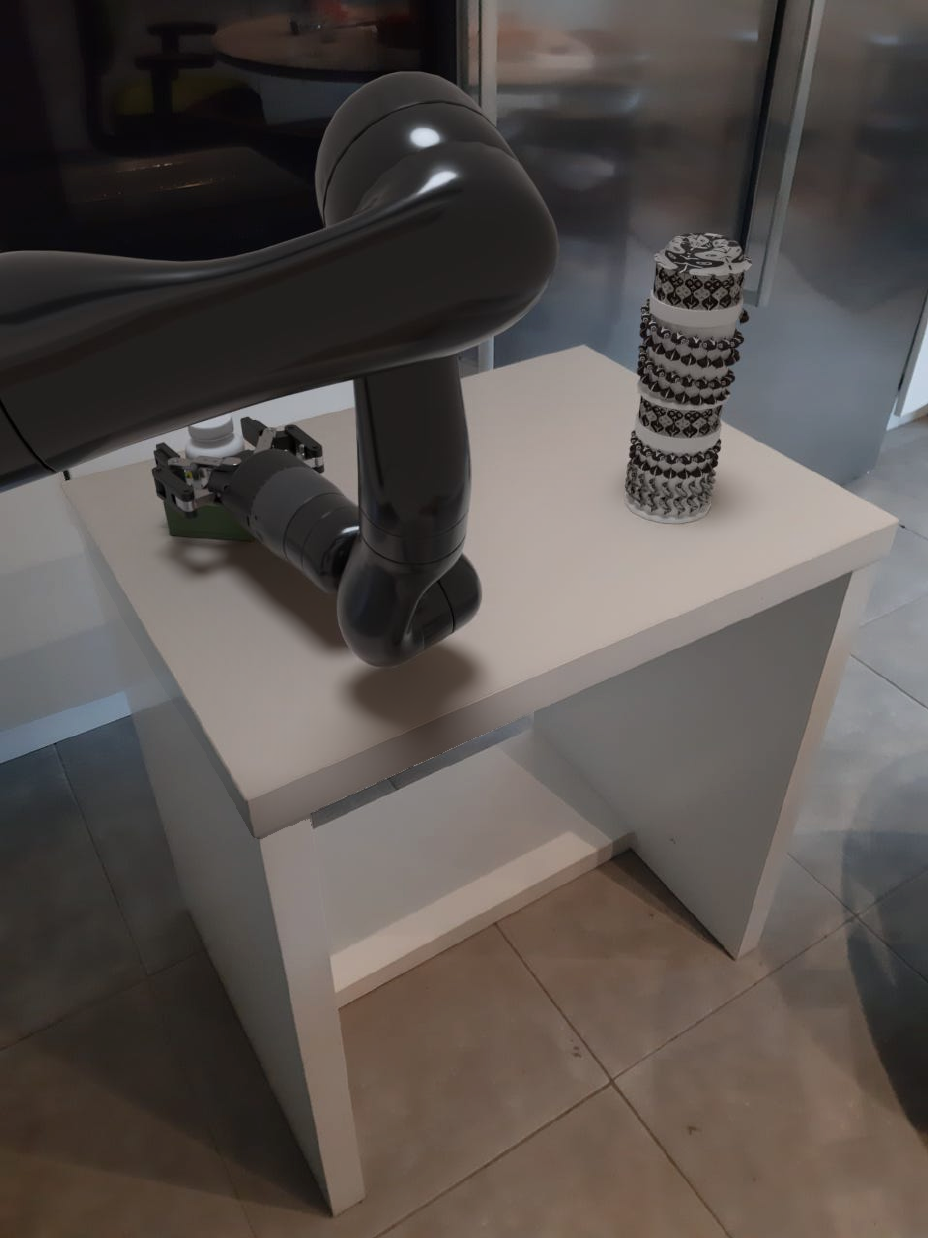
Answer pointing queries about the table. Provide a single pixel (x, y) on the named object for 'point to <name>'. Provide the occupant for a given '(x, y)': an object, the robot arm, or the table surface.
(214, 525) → the basket
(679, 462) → the decorative candle
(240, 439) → the supplement bottle
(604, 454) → the table surface
